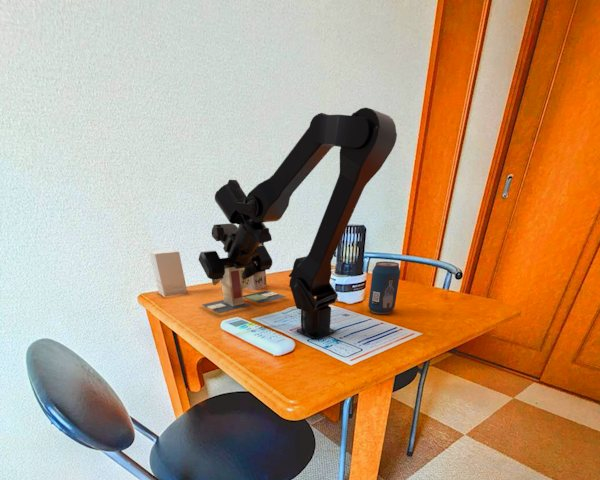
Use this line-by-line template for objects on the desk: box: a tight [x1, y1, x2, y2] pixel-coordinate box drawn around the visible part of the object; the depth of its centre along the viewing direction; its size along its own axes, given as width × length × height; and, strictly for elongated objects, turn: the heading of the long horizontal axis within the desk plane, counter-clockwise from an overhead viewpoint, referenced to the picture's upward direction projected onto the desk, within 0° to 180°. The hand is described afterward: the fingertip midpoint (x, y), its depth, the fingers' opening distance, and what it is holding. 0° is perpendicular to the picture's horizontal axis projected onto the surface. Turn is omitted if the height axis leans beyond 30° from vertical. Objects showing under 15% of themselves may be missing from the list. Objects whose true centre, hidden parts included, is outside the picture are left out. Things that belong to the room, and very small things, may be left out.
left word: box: [201, 299, 252, 314], centre depth 87 cm, size 10×10×1 cm
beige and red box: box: [220, 268, 245, 306], centre depth 85 cm, size 5×4×11 cm
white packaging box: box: [148, 248, 188, 298], centre depth 97 cm, size 7×7×13 cm
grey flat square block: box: [243, 290, 287, 304], centre depth 94 cm, size 10×10×1 cm
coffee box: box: [240, 242, 267, 291], centre depth 100 cm, size 9×6×16 cm
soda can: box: [367, 261, 401, 315], centre depth 81 cm, size 7×7×12 cm
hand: (228, 281), depth 86 cm, fingers open, 9 cm apart
